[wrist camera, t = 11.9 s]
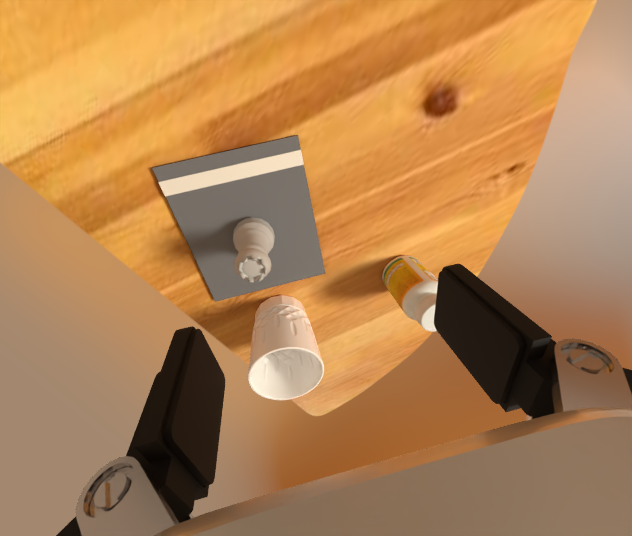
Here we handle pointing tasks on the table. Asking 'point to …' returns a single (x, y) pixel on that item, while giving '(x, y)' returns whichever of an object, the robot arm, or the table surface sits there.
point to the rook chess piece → (253, 248)
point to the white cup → (283, 351)
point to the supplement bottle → (412, 289)
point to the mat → (245, 212)
